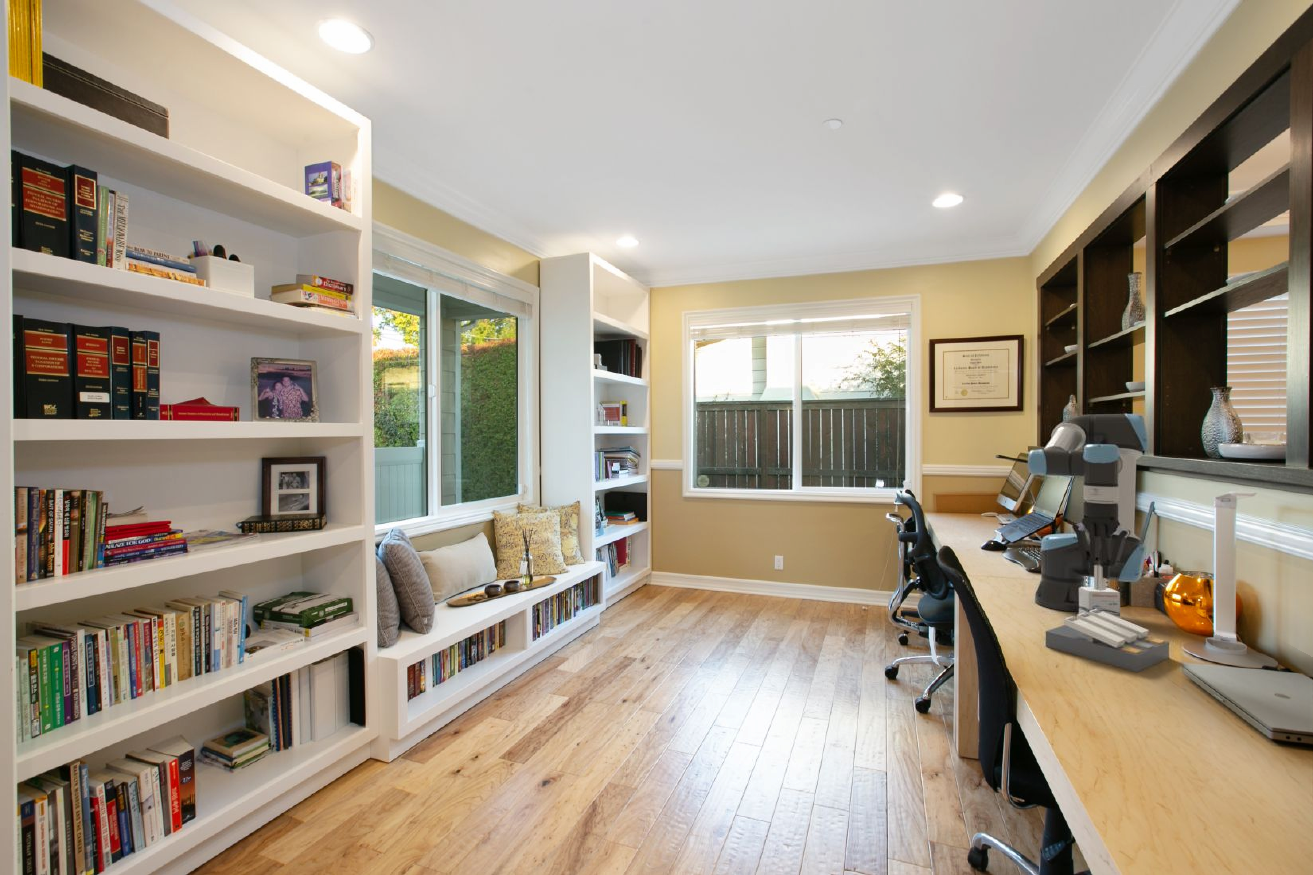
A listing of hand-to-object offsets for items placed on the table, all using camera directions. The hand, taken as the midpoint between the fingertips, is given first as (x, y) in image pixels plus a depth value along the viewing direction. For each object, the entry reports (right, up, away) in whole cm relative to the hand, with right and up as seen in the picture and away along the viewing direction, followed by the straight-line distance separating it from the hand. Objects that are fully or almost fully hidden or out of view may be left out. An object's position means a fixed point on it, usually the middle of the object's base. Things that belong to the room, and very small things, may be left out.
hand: (1100, 589), depth 160 cm
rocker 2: (-3, -8, -7) cm, 11 cm away
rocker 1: (-9, -8, -10) cm, 16 cm away
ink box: (+7, -15, +10) cm, 19 cm away
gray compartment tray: (-3, -14, -7) cm, 16 cm away
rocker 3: (+2, -8, -3) cm, 9 cm away
